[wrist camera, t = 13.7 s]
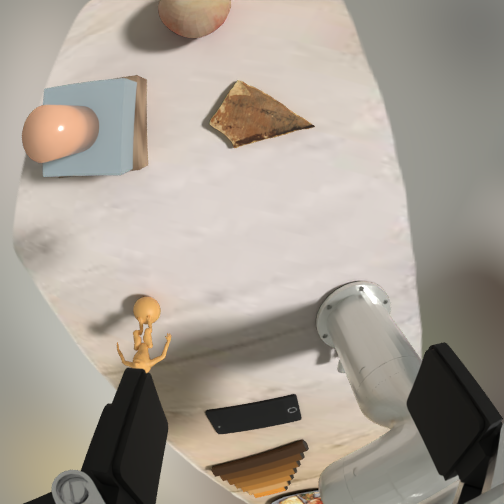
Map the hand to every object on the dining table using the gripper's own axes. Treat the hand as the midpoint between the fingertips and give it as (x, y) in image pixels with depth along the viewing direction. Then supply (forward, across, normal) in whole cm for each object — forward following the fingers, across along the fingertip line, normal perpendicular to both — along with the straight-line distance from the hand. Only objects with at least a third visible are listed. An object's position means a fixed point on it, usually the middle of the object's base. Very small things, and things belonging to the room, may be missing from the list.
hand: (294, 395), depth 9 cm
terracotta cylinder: (+23, +18, -10) cm, 31 cm away
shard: (+32, -1, -11) cm, 34 cm away
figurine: (+32, +16, +16) cm, 39 cm away
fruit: (+31, +6, -24) cm, 40 cm away
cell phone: (+34, +1, +43) cm, 55 cm away
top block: (+27, +18, -11) cm, 34 cm away
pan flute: (+35, -4, +71) cm, 80 cm away
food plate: (+36, -14, +102) cm, 109 cm away
